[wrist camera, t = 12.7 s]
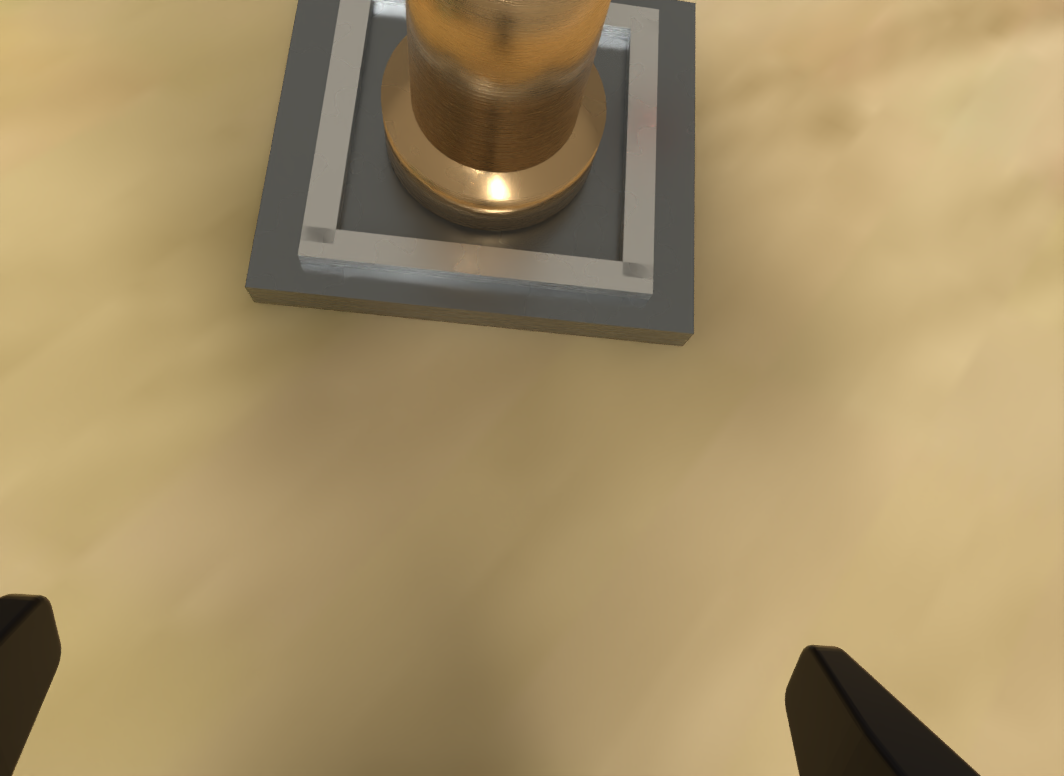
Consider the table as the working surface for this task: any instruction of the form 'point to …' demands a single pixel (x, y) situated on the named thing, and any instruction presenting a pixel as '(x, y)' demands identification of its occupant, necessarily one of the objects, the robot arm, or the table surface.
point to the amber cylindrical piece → (495, 107)
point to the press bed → (470, 254)
